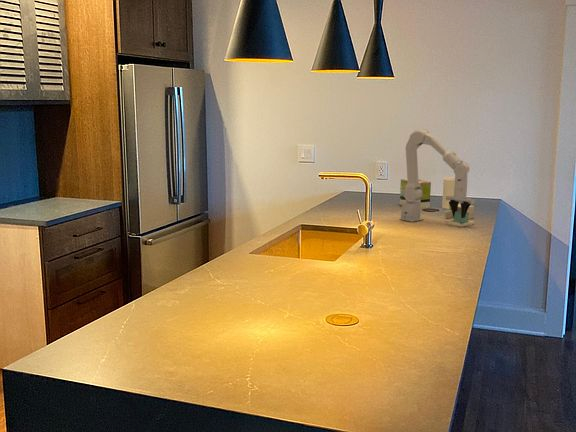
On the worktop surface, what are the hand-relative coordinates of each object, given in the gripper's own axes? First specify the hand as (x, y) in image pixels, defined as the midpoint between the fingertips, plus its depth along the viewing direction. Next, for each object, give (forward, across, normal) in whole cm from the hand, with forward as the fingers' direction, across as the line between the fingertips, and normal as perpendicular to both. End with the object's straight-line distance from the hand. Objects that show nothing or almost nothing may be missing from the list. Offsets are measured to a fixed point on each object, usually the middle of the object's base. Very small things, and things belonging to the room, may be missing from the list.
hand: (458, 216), depth 310 cm
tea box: (+4, +44, -24) cm, 51 cm away
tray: (+4, 0, -2) cm, 4 cm away
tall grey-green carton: (+3, 0, -2) cm, 3 cm away
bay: (+4, +10, -15) cm, 18 cm away
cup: (+4, +30, -38) cm, 48 cm away
